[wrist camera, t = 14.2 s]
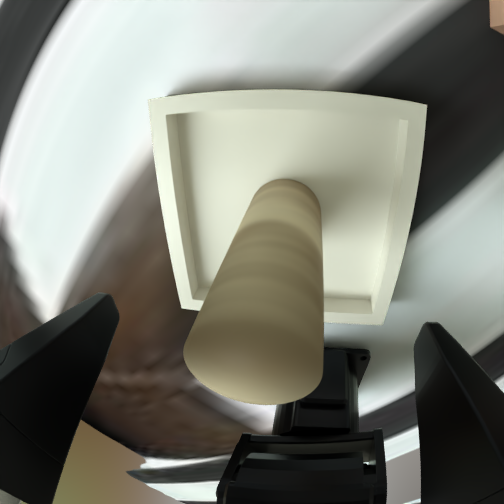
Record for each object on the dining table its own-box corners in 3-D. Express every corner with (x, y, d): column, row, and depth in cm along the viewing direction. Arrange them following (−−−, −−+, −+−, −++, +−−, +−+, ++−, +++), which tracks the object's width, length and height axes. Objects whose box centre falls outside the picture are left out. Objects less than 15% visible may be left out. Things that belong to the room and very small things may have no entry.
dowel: (318, 245, 15) (313, 409, 7) (251, 241, 16) (195, 394, 8) (322, 180, 13) (333, 328, 6) (248, 177, 14) (170, 310, 6)
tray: (378, 304, 17) (382, 325, 15) (191, 289, 19) (181, 308, 17) (413, 101, 11) (427, 105, 9) (165, 96, 13) (148, 99, 11)
